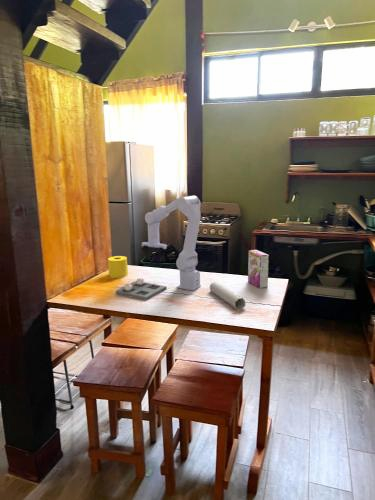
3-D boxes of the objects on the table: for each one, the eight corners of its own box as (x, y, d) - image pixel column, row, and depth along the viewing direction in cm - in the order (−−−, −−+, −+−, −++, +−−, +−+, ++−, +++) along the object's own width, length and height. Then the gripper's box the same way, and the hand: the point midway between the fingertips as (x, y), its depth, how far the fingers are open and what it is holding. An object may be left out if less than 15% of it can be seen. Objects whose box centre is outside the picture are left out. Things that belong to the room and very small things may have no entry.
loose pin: (145, 286, 174) (144, 279, 173) (141, 288, 172) (140, 281, 171) (139, 285, 176) (139, 278, 175) (135, 287, 173) (135, 280, 172)
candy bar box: (247, 281, 180) (247, 250, 176) (255, 280, 181) (256, 249, 178) (259, 288, 170) (260, 255, 166) (268, 287, 171) (269, 254, 167)
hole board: (166, 289, 170) (166, 286, 170) (146, 300, 157) (146, 297, 157) (136, 283, 179) (136, 280, 179) (115, 293, 166) (115, 290, 165)
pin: (133, 292, 167) (133, 284, 166) (129, 294, 164) (128, 286, 163) (128, 291, 168) (127, 283, 168) (123, 293, 166) (123, 285, 165)
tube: (206, 283, 166) (233, 301, 144) (215, 278, 168) (243, 295, 146) (209, 293, 168) (236, 312, 146) (218, 288, 170) (247, 306, 147)
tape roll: (120, 271, 201) (119, 255, 199) (131, 274, 194) (130, 258, 192) (105, 275, 194) (104, 258, 192) (116, 279, 187) (115, 261, 185)
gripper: (137, 235, 183) (138, 260, 186) (161, 238, 175) (161, 264, 179) (145, 233, 189) (146, 257, 192) (168, 235, 181) (169, 261, 185)
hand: (154, 260), depth 186 cm, fingers open, 7 cm apart
